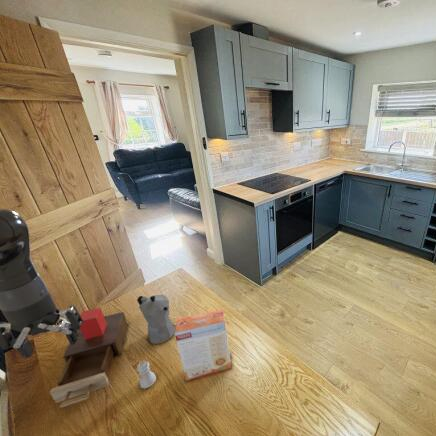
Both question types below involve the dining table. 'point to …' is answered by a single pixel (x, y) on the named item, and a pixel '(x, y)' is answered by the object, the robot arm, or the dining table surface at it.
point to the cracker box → (203, 344)
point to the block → (93, 323)
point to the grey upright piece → (157, 317)
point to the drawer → (83, 375)
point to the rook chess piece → (146, 375)
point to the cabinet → (101, 337)
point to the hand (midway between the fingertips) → (52, 348)
